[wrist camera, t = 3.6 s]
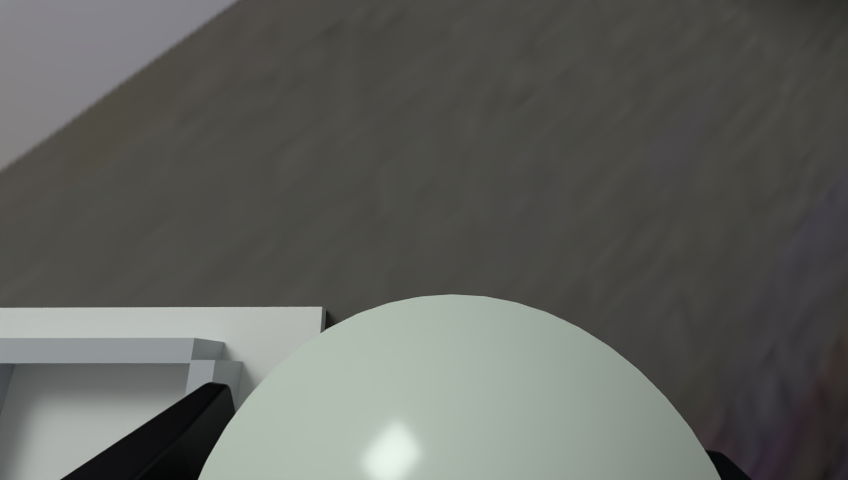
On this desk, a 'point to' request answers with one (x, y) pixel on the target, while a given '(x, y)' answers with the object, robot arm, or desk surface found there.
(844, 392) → the desk surface
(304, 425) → the domed peg
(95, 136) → the desk surface
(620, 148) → the desk surface
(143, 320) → the white railed tray
